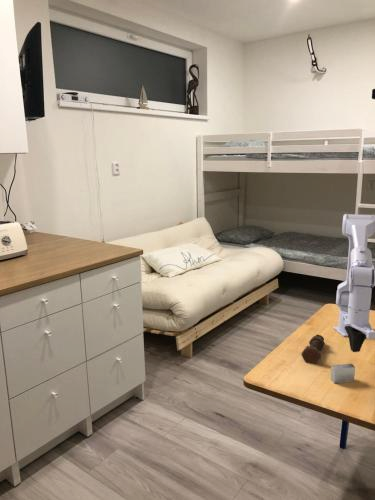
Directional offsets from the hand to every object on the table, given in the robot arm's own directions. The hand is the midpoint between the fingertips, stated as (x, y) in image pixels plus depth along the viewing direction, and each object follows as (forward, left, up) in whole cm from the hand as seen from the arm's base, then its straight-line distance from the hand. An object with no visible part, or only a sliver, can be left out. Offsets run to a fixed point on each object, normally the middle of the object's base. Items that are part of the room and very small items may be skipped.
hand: (355, 350), depth 120 cm
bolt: (+6, -12, -7) cm, 15 cm away
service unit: (+6, +4, -6) cm, 10 cm away
